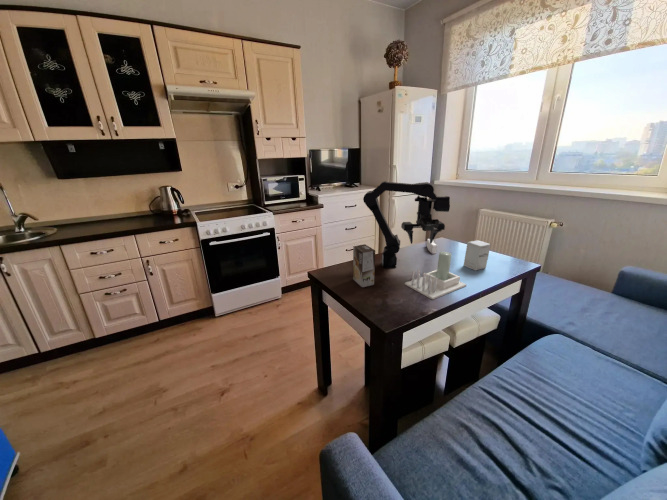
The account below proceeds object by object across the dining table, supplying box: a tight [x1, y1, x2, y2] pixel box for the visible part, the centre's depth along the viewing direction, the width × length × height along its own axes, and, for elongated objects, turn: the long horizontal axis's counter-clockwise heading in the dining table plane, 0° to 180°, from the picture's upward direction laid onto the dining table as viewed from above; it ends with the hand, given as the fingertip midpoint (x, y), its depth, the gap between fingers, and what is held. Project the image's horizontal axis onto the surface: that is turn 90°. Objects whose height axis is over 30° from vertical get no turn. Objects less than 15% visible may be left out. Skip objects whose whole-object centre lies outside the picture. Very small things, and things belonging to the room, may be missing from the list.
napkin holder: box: [426, 238, 438, 255], centre depth 157 cm, size 15×11×6 cm
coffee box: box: [352, 243, 376, 288], centre depth 118 cm, size 9×6×16 cm
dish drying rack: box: [404, 269, 467, 300], centre depth 116 cm, size 21×15×7 cm
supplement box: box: [463, 239, 491, 271], centre depth 132 cm, size 7×7×13 cm
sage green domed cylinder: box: [436, 251, 453, 281], centre depth 116 cm, size 5×5×13 cm
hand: (421, 243), depth 129 cm, fingers open, 9 cm apart
